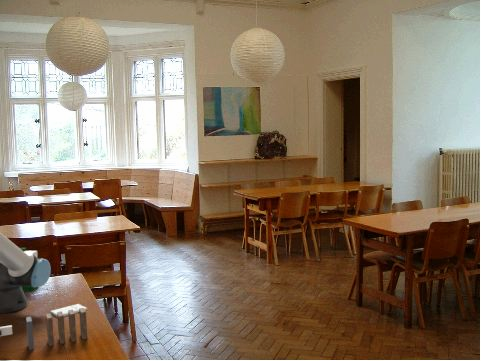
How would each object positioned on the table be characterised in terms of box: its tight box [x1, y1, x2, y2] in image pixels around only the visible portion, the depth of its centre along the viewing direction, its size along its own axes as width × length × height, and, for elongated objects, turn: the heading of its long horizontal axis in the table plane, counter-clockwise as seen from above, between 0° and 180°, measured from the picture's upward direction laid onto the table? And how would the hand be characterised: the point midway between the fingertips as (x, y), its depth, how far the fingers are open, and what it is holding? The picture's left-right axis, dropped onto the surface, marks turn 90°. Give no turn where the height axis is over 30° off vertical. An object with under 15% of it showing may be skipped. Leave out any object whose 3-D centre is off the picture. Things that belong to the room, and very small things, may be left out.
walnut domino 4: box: [79, 308, 88, 340], centre depth 191 cm, size 2×5×10 cm, turn 25°
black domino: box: [25, 316, 35, 351], centre depth 183 cm, size 2×5×10 cm, turn 26°
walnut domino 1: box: [45, 312, 55, 347], centre depth 186 cm, size 2×5×10 cm, turn 25°
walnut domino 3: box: [68, 310, 78, 342], centre depth 189 cm, size 2×5×10 cm, turn 25°
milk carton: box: [19, 246, 39, 292], centre depth 253 cm, size 9×9×20 cm
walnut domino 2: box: [56, 311, 66, 345], centre depth 187 cm, size 2×5×10 cm, turn 25°
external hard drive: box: [49, 303, 88, 319], centre depth 219 cm, size 2×8×12 cm
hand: (12, 329), depth 180 cm, fingers closed
